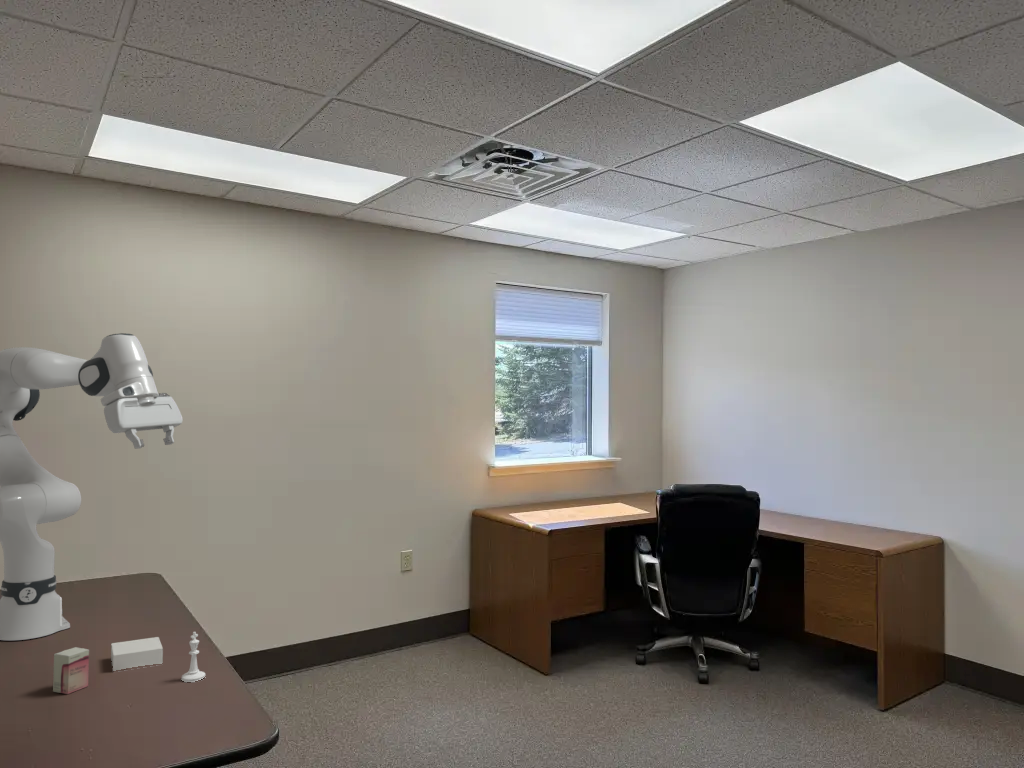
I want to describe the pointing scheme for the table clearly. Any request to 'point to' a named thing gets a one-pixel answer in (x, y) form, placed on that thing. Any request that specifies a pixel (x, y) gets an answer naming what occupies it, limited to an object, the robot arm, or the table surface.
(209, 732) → the table surface
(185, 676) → the chess piece
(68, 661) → the small box
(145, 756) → the table surface
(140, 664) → the off-white block
